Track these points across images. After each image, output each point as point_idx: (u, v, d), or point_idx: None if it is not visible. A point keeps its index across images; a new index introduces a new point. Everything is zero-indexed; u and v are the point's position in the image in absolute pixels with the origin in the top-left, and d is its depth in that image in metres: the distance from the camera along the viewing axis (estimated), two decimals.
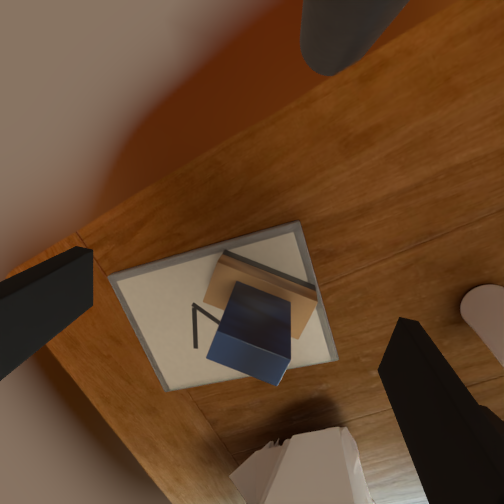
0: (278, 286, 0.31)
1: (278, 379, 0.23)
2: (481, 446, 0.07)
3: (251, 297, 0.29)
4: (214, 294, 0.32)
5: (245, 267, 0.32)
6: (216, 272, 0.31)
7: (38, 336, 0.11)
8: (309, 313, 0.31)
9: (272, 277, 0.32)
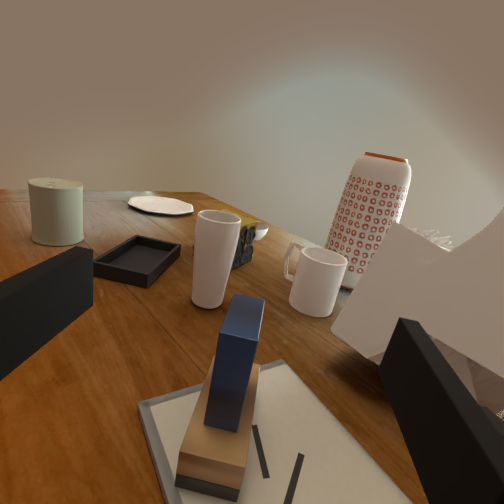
0: (204, 384, 0.28)
1: (257, 299, 0.27)
2: (481, 446, 0.07)
3: None
4: (228, 451, 0.23)
5: None
6: (194, 450, 0.23)
7: (38, 336, 0.11)
8: None
9: None
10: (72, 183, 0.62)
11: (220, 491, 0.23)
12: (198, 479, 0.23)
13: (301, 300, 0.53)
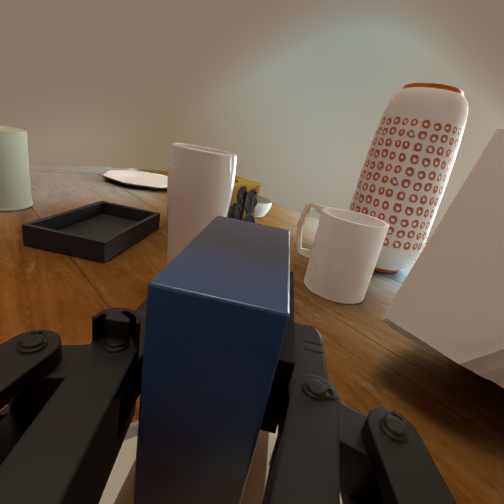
0: None
1: (271, 227, 0.11)
2: None
3: None
4: None
5: None
6: None
7: None
8: None
9: None
10: (13, 129, 0.47)
11: None
12: None
13: (323, 280, 0.38)
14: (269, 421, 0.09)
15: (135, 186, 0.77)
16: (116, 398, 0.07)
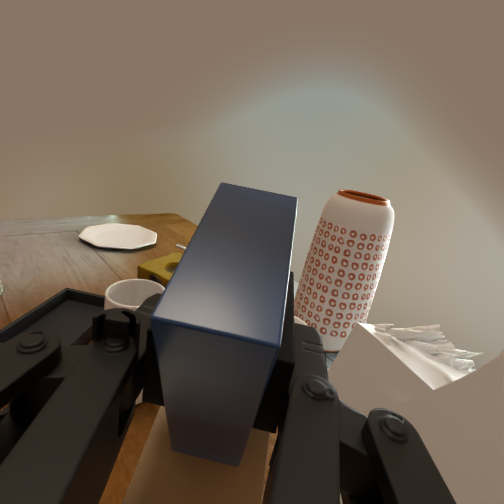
0: None
1: (278, 195, 0.11)
2: None
3: None
4: None
5: None
6: None
7: None
8: None
9: None
10: None
11: None
12: None
13: None
14: (269, 421, 0.09)
15: None
16: (116, 398, 0.07)
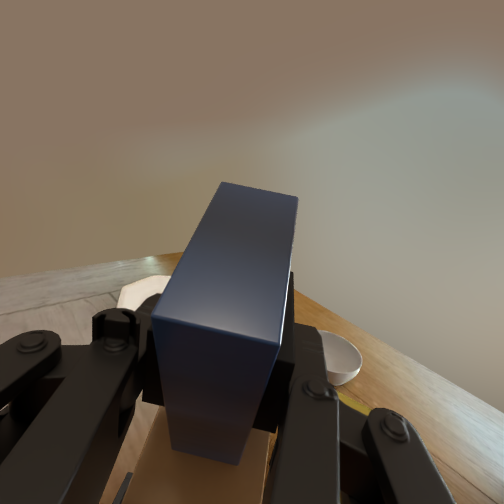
0: None
1: (278, 194, 0.11)
2: None
3: None
4: None
5: None
6: None
7: None
8: None
9: None
10: None
11: None
12: None
13: None
14: (269, 421, 0.09)
15: None
16: (116, 398, 0.07)
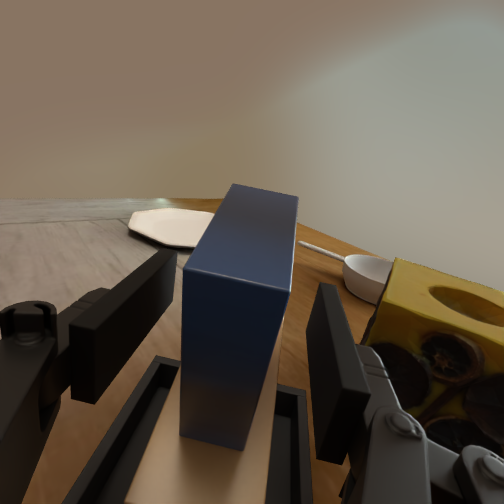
0: None
1: (281, 194, 0.12)
2: (339, 364, 0.09)
3: None
4: (226, 496, 0.11)
5: None
6: (156, 498, 0.11)
7: (145, 327, 0.12)
8: None
9: None
10: None
11: None
12: None
13: None
14: (337, 453, 0.09)
15: None
16: (33, 390, 0.07)
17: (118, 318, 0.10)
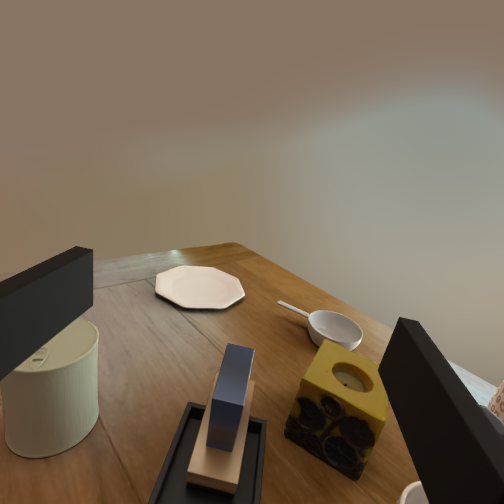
0: None
1: (247, 348, 0.31)
2: (481, 446, 0.07)
3: None
4: (225, 469, 0.30)
5: None
6: (198, 470, 0.29)
7: (38, 336, 0.11)
8: None
9: None
10: (79, 330, 0.34)
11: (220, 493, 0.31)
12: (203, 486, 0.30)
13: None
14: None
15: None
16: None
17: None
